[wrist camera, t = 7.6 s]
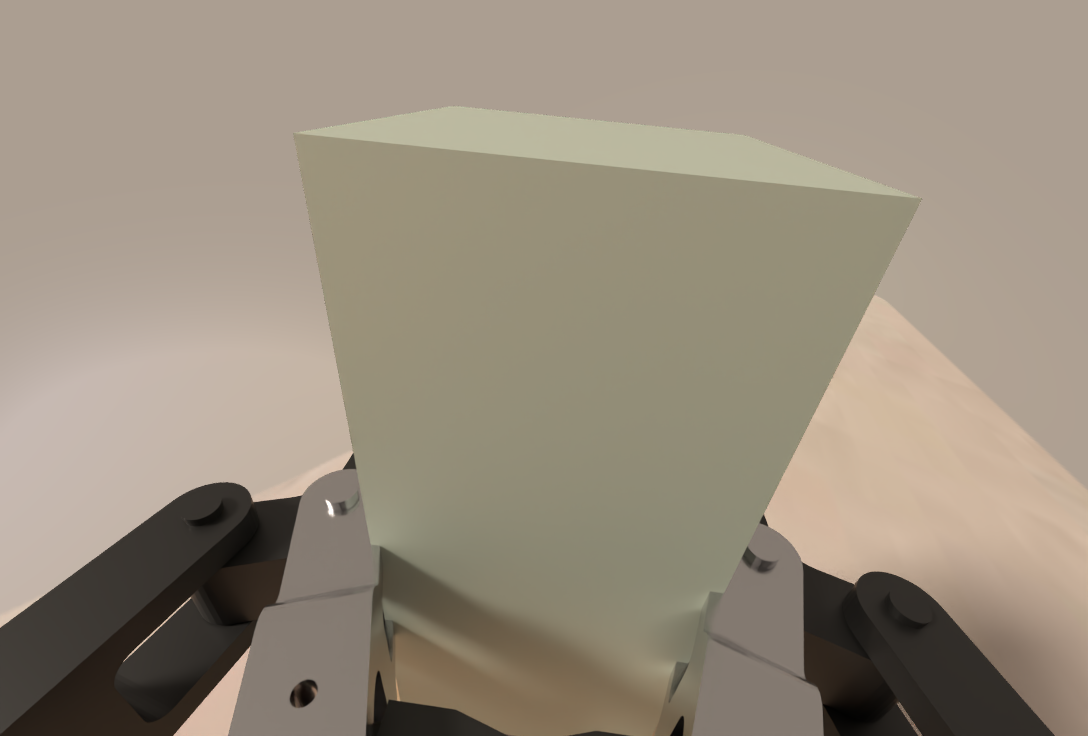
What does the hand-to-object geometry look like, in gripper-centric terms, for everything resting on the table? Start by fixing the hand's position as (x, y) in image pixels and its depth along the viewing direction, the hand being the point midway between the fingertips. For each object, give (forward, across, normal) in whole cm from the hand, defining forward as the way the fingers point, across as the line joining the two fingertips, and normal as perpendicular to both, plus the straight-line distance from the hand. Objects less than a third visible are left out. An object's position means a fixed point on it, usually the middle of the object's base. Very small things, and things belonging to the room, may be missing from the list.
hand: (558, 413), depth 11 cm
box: (-3, 0, +10) cm, 10 cm away
